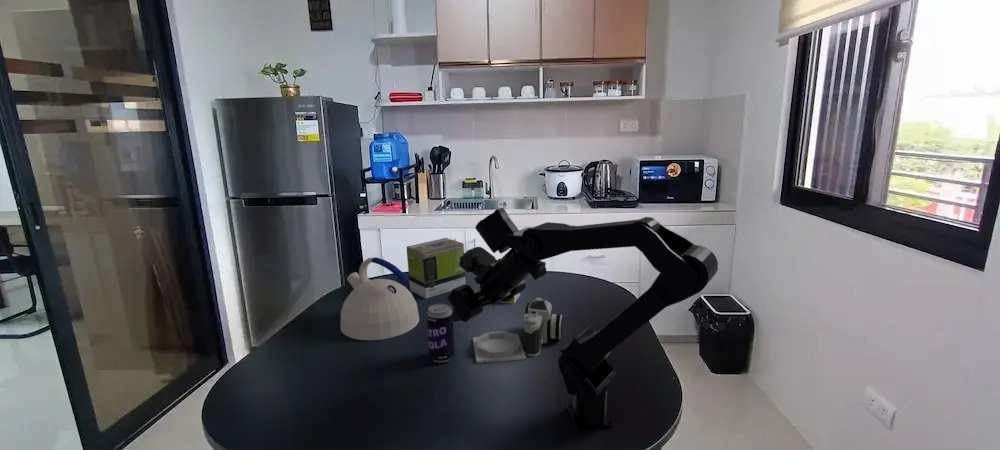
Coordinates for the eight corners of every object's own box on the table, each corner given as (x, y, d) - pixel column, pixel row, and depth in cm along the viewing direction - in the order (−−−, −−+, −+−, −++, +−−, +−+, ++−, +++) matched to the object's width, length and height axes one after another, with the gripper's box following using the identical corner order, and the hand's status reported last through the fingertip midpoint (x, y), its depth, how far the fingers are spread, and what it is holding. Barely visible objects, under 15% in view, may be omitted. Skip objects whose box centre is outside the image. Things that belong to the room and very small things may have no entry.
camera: (558, 359, 102) (558, 318, 99) (519, 356, 103) (519, 314, 101) (563, 328, 117) (564, 291, 114) (530, 325, 119) (530, 288, 116)
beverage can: (426, 355, 104) (423, 305, 102) (449, 349, 107) (447, 301, 104) (433, 366, 99) (430, 315, 96) (458, 360, 102) (456, 310, 99)
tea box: (449, 279, 153) (447, 236, 149) (466, 287, 145) (465, 242, 142) (408, 290, 143) (405, 245, 140) (425, 300, 136) (422, 252, 133)
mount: (526, 359, 102) (526, 351, 101) (476, 363, 100) (476, 355, 100) (517, 336, 112) (517, 328, 112) (472, 339, 111) (472, 332, 111)
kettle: (379, 302, 135) (375, 243, 131) (435, 316, 125) (432, 253, 120) (322, 329, 118) (314, 262, 114) (381, 349, 108) (375, 275, 103)
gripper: (513, 227, 96) (474, 268, 104) (453, 248, 81) (413, 293, 90) (545, 270, 93) (502, 308, 102) (489, 300, 78) (444, 341, 87)
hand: (467, 311), depth 95 cm, fingers open, 9 cm apart
